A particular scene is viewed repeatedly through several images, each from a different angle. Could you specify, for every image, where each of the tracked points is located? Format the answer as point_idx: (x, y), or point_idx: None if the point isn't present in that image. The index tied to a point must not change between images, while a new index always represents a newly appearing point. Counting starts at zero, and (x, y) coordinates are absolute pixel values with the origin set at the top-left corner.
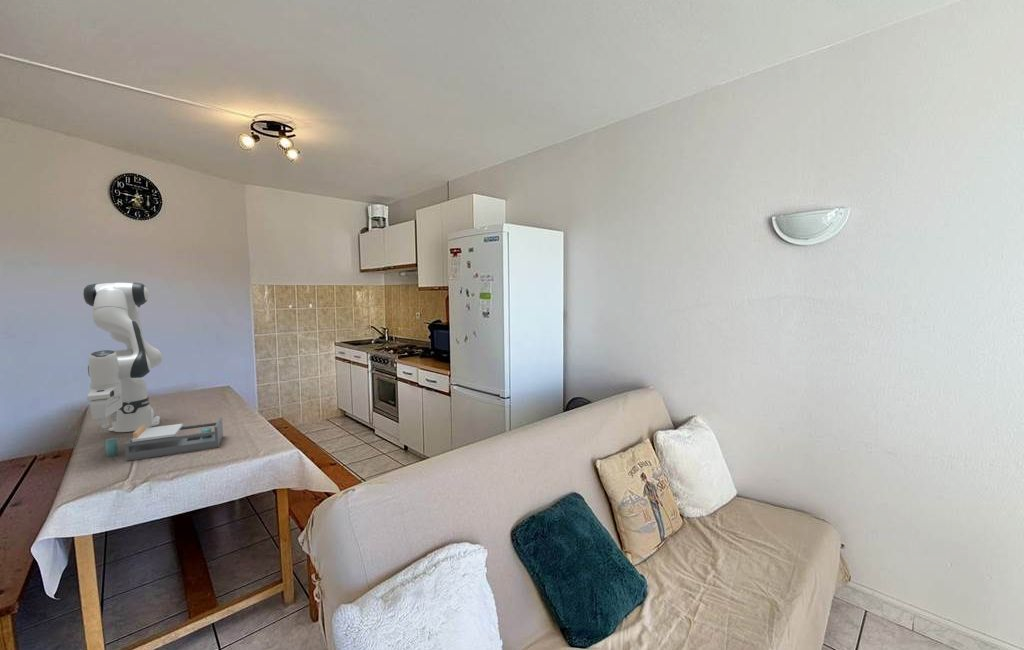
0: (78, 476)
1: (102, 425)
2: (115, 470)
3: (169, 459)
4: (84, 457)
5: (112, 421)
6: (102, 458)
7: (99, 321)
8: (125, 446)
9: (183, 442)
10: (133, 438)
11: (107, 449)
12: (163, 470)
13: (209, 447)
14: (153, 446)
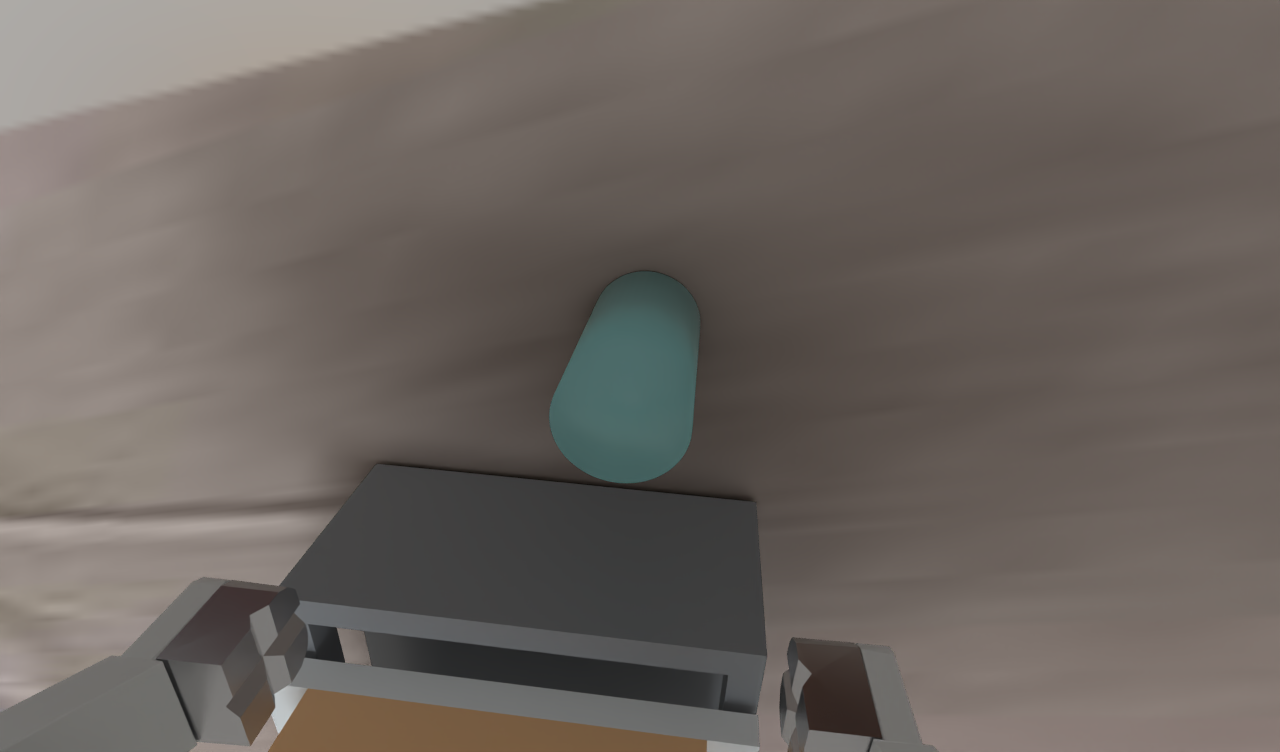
0: (71, 168)
1: (162, 635)
2: (167, 423)
3: None
4: (759, 13)
5: (791, 658)
6: (584, 246)
7: None
8: (293, 572)
9: None
10: (299, 691)
11: (583, 331)
12: None
13: None
14: (470, 669)
